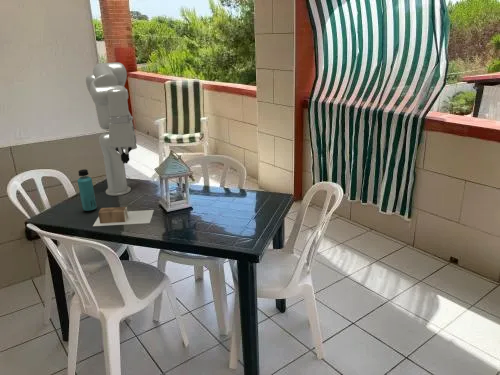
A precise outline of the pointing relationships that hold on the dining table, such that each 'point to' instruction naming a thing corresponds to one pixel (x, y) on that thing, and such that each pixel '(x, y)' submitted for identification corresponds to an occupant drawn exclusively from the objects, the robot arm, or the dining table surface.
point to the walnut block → (113, 215)
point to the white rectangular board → (131, 218)
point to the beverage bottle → (86, 191)
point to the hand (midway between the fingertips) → (125, 162)
